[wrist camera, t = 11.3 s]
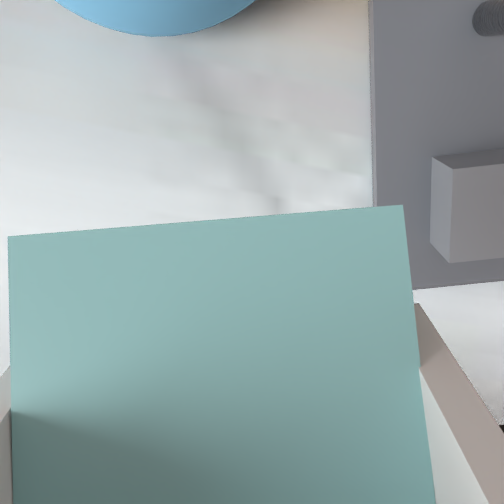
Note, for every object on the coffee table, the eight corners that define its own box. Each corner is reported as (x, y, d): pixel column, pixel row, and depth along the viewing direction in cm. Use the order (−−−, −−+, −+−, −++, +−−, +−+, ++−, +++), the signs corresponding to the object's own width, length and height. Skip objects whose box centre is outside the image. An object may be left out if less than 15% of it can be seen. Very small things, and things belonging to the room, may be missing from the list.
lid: (404, 552, 12) (450, 639, 9) (80, 571, 12) (16, 661, 9) (371, 227, 12) (402, 204, 9) (69, 251, 13) (7, 236, 10)
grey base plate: (554, 267, 29) (597, 298, 26) (374, 285, 30) (391, 318, 26) (595, -29, 23) (658, -45, 20) (368, 1, 24) (389, -9, 20)
